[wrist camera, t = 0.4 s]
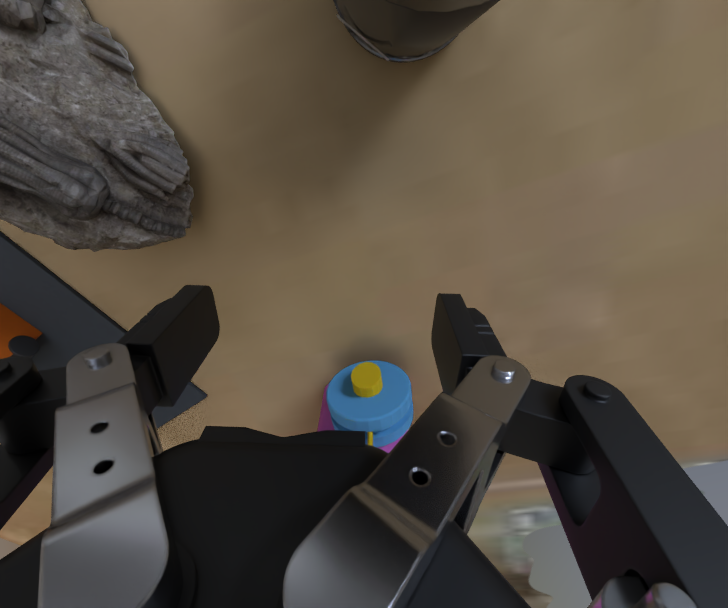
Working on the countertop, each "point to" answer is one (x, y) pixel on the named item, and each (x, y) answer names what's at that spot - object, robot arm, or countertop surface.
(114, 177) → the fossil
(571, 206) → the countertop surface
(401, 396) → the toy
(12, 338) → the truck
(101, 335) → the mat
